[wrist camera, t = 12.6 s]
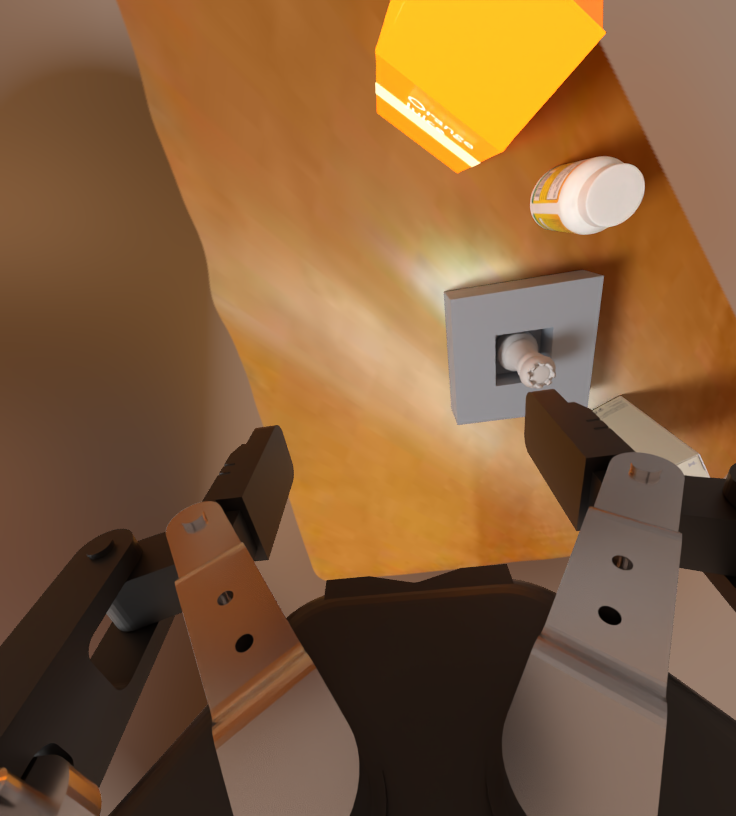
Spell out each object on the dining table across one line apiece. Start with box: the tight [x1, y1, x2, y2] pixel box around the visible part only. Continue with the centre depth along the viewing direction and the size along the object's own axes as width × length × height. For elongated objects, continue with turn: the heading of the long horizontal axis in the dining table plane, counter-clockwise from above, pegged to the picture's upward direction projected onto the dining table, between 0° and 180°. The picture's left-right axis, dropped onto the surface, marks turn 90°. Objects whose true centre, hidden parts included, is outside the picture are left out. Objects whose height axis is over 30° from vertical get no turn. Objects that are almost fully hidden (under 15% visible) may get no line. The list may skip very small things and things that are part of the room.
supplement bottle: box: [530, 156, 645, 235], centre depth 31 cm, size 5×5×10 cm
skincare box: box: [593, 396, 710, 478], centre depth 40 cm, size 6×4×12 cm
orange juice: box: [375, 0, 606, 173], centre depth 23 cm, size 8×9×20 cm
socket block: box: [444, 270, 604, 425], centre depth 40 cm, size 14×14×4 cm
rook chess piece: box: [495, 331, 556, 389], centre depth 37 cm, size 4×4×8 cm
